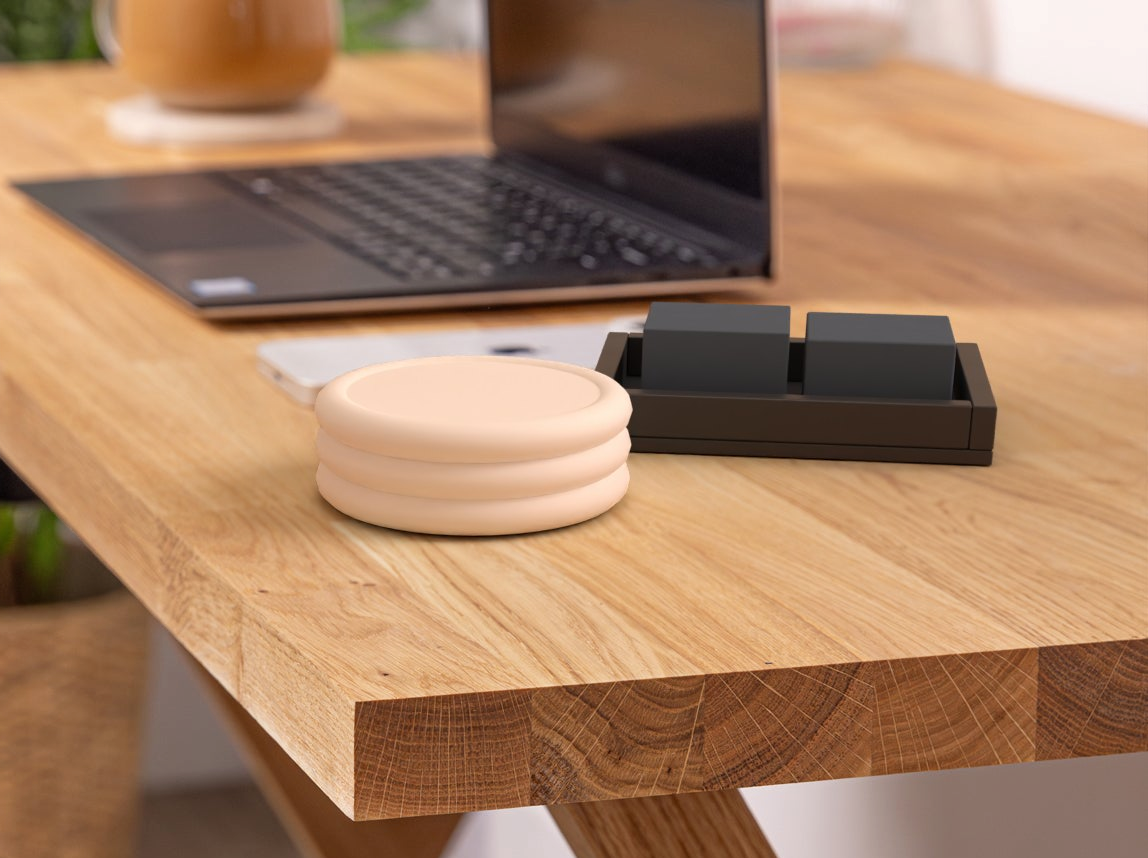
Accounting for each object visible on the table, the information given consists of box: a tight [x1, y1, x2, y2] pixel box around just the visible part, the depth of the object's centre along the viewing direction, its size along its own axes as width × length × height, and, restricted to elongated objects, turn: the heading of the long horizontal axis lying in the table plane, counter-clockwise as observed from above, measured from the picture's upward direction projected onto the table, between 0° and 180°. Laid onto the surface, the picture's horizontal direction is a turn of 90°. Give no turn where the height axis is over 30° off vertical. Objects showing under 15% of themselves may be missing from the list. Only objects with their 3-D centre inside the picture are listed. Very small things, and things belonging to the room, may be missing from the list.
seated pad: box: [802, 311, 957, 400], centre depth 79 cm, size 5×5×3 cm
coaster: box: [313, 354, 632, 536], centre depth 72 cm, size 10×10×4 cm
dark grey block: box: [641, 301, 792, 394], centre depth 80 cm, size 5×5×3 cm
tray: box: [594, 331, 998, 466], centre depth 80 cm, size 14×10×2 cm
